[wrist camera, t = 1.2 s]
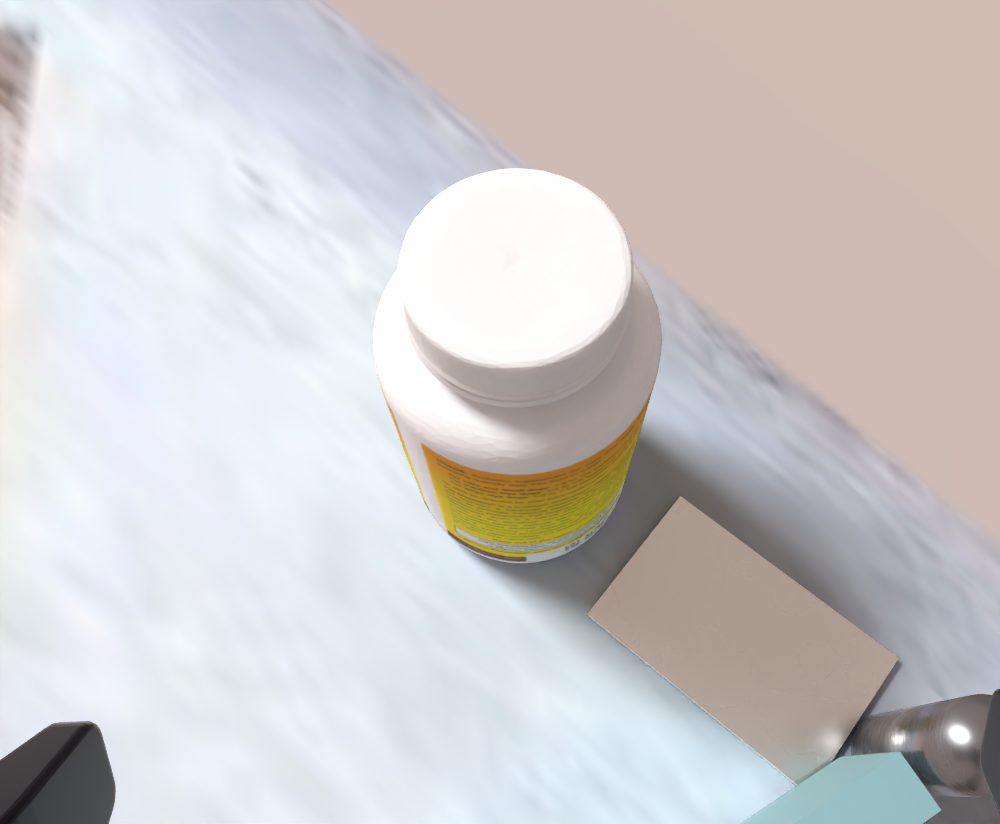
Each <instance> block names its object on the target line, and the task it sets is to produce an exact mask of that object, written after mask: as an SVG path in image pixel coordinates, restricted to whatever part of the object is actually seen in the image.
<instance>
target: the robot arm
mask: <svg viewBox="0 0 1000 824" xmlns="http://www.w3.org/2000/svg"><path fill="white" fill-rule="evenodd" d="M980 763H981V769H982V772H983V776H984V778H985V781H986V783H987V786H988V788H989V790H990V792H991V795H992V797H993V799H994V802H995V804H996V806H997V809H998V811H999V813H1000V689H998V690H996V691H995V692H994V694H993V695H992V697H991V700H990V704H989V709H988V714H987V719H986V724H985V729H984V733H983V738H982V743H981V748H980ZM115 792H116V790H115V781H114V777H113V773H112V769H111V766H110V762H109V758H108V755H107V751H106V748H105V744H104V740H103V737H102V733H101V731H100V729H99V727H98V726H97V725H96V724H95V723H93V722H90V721H80V722H59V723H54V724H52V725H50V726H48V727H47V728H45V729H43V730H42V731H41V732H39V733H38V734H36V735H35V736H34V737H32V738H31V739H29V740H28V741H27V742H25V743H24V744H22V745H21V746H19V747H18V748H17V749H15V750H14V751H12V752H11V753H10V754H8V755H7V756H5V757H4V758H3V759H1V760H0V824H109V821H110V818H111V814H112V811H113V807H114V802H115Z"/></svg>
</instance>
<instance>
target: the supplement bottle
mask: <svg viewBox="0 0 1000 824" xmlns="http://www.w3.org/2000/svg"><path fill="white" fill-rule="evenodd" d="M661 346H662V333H661V323H660V318H659V312H658V307H657V305H656V302H655V299H654V296H653V294H652V291H651V289H650V287H649V285H648V283H647V281H646V279H645V277H644V276H643V274H642V273H641V271H640V270H639V268H638V267H637V265H636V264H635V263H634V262H633V258H632V252H631V248H630V243H629V241H628V238H627V236H626V233H625V231H624V229H623V227H622V225H621V224H620V222H619V220H618V219H617V217H616V216H615V214H614V213H613V212H612V210H611V209H610V208H609V207H608V206H607V205H606V204H605V203H604V202H603V200H601V199H600V198H599V197H598V196H596V195H595V194H594V193H592V192H591V191H590V190H588V189H587V188H585V187H584V186H582V185H580V184H578V183H576V182H574V181H572V180H570V179H568V178H565V177H563V176H560V175H556V174H553V173H549V172H546V171H541V170H533V169H520V168H517V169H501V170H494V171H489V172H485V173H481V174H478V175H475V176H471V177H468V178H466V179H464V180H462V181H460V182H458V183H456V184H454V185H452V186H450V187H449V188H447V189H446V190H444V191H443V192H441V193H440V194H439V195H437V196H436V197H435V198H433V199H432V200H431V201H430V202H429V203H428V204H427V205H426V206H425V207H424V208H423V209H422V211H421V212H420V213H419V214H418V216H417V217H416V218H415V220H414V221H413V223H412V224H411V226H410V228H409V230H408V232H407V234H406V236H405V239H404V242H403V245H402V248H401V251H400V256H399V262H398V268H397V270H396V271H395V273H394V274H393V276H392V277H391V279H390V281H389V283H388V284H387V286H386V288H385V290H384V293H383V295H382V297H381V300H380V303H379V306H378V309H377V314H376V318H375V324H374V333H373V352H374V360H375V366H376V371H377V376H378V379H379V383H380V386H381V389H382V392H383V395H384V397H385V400H386V402H387V405H388V408H389V411H390V413H391V416H392V419H393V421H394V424H395V426H396V429H397V432H398V435H399V437H400V441H401V443H402V446H403V449H404V451H405V454H406V457H407V460H408V462H409V464H410V467H411V470H412V472H413V474H414V477H415V479H416V482H417V485H418V487H419V490H420V493H421V495H422V497H423V500H424V502H425V504H426V506H427V508H428V509H429V511H430V513H431V514H432V516H433V517H434V519H435V520H436V522H437V523H438V524H439V526H440V527H441V528H442V529H443V530H444V531H445V532H446V533H447V534H448V535H449V536H450V537H451V538H452V539H454V540H455V541H456V542H458V543H459V544H461V545H462V546H464V547H465V548H467V549H469V550H470V551H472V552H474V553H477V554H479V555H481V556H484V557H487V558H490V559H494V560H498V561H502V562H508V563H535V562H540V561H546V560H549V559H553V558H556V557H559V556H561V555H564V554H566V553H568V552H570V551H572V550H574V549H575V548H577V547H579V546H580V545H582V544H583V543H584V542H586V541H587V540H589V539H590V538H591V537H592V536H593V535H594V534H595V533H596V532H597V531H598V530H599V529H600V528H601V527H602V526H603V525H604V523H605V522H606V521H607V519H608V518H609V516H610V515H611V513H612V511H613V510H614V508H615V506H616V504H617V502H618V499H619V497H620V495H621V492H622V490H623V486H624V483H625V479H626V476H627V472H628V469H629V466H630V462H631V459H632V456H633V452H634V449H635V446H636V443H637V440H638V437H639V434H640V431H641V427H642V424H643V421H644V417H645V414H646V410H647V407H648V403H649V400H650V396H651V393H652V390H653V386H654V383H655V380H656V376H657V373H658V367H659V362H660V356H661Z"/></svg>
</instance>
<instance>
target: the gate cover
mask: <svg viewBox="0 0 1000 824" xmlns="http://www.w3.org/2000/svg"><path fill="white" fill-rule="evenodd" d="M940 811H941V809H940V807H939V806H938V804H937V803H936V802H935V800H934V799H933V797H932V796H931V795H930V793H929V792H928V790H927V789H926V787H925V786H924V785H923V783H922V782H921V780H920V779H919V778H918V776H917V775H916V773H915V772H914V771H913V769H912V768H911V766H910V765H909V764H908V762H907V761H906V759H905V758H904V757H903V755H902V754H901V752H890V753H878V754H867V755H855V756H844V757H839V758H838V759H836V760H835V761H833V762H832V763H830V764H829V765H827V766H826V767H824V768H823V769H821V770H820V771H818V772H817V773H815V774H814V775H812V776H811V777H809V778H808V779H806V780H805V781H803V782H802V783H800V784H799V785H797V786H796V787H794V788H793V789H791V790H790V791H788V792H787V793H785V794H784V795H783V796H781V797H780V798H778V799H777V800H775V801H774V802H772V803H771V804H769V805H768V806H766V807H765V808H763V809H762V810H760V811H759V812H757V813H756V814H754V815H753V816H751V817H750V818H748V819H747V820H745V821H744V822H742V823H741V824H923V823H924V822H926V821H927V820H929V819H930V818H931V817H933V816H934V815H936V814H937V813H939V812H940Z"/></svg>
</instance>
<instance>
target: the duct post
mask: <svg viewBox="0 0 1000 824" xmlns="http://www.w3.org/2000/svg"><path fill="white" fill-rule="evenodd" d="M587 616H588V617H590V618H591V619H592V620H593V621H595V622H596V623H597V624H598V625H599V626H601V627H602V628H603V629H604V630H606V631H607V632H608V633H609V634H611V635H612V636H613V637H614V638H615V639H617V640H618V641H619V642H620V643H622V644H623V645H624V646H625V647H627V648H628V649H629V650H630V651H631V652H633V653H634V654H635V655H636V656H638V657H639V658H640V659H641V660H643V661H644V662H645V663H646V664H647V665H649V666H650V667H651V668H652V669H654V670H655V671H656V672H657V673H658V674H660V675H661V676H662V677H663V678H665V679H666V680H667V681H668V682H670V683H671V684H672V685H673V686H674V687H676V688H677V689H678V690H679V691H681V692H682V693H683V694H684V695H686V696H687V697H688V698H689V699H690V700H692V701H693V702H694V703H695V704H697V705H698V706H699V707H700V708H702V709H703V710H704V711H705V712H706V713H708V714H709V715H710V716H711V717H713V718H714V719H715V720H716V721H717V722H719V723H720V724H721V725H722V726H724V727H725V728H726V729H727V730H729V731H730V732H731V733H732V734H733V735H735V736H736V737H737V738H738V739H740V740H741V741H742V742H743V743H745V744H746V745H747V746H748V747H749V748H751V749H752V750H753V751H754V752H756V753H757V754H758V755H759V756H760V757H762V758H763V759H764V760H765V761H767V762H768V763H769V764H770V765H772V766H773V767H774V768H775V769H776V770H778V771H779V772H780V773H781V774H783V775H784V776H785V777H786V778H788V779H789V780H790V781H791V782H792V783H794V784H795V785H796V786H797V785H799V784H800V783H802V782H803V781H805V780H806V779H808V778H809V777H811V776H812V775H814V774H815V773H817V772H818V771H820V770H821V769H823V768H824V767H826V766H827V765H829V764H830V763H831V762H832V760H833V759H834V757H835V756H836V754H837V752H838V751H839V749H840V748H841V746H842V745H843V743H844V742H845V740H846V739H847V737H848V736H849V734H850V733H851V731H852V729H853V728H854V726H855V725H856V723H857V722H858V720H859V719H860V717H861V716H862V714H863V713H864V711H865V710H866V708H867V706H868V705H869V703H870V702H871V700H872V699H873V697H874V696H875V694H876V693H877V691H878V690H879V688H880V686H881V685H882V683H883V682H884V680H885V679H886V677H887V676H888V674H889V673H890V671H891V670H892V668H893V667H894V665H895V663H896V662H897V660H898V659H899V657H897V656H896V655H895V654H893V653H892V652H890V651H889V650H888V649H886V648H885V647H884V646H882V645H881V644H880V643H878V642H877V641H876V640H874V639H873V638H872V637H870V636H869V635H868V634H866V633H865V632H863V631H862V630H861V629H859V628H858V627H857V626H855V625H854V624H853V623H851V622H850V621H849V620H847V619H846V618H845V617H843V616H842V615H841V614H839V613H838V612H836V611H835V610H834V609H832V608H831V607H830V606H828V605H827V604H826V603H824V602H823V601H822V600H820V599H819V598H818V597H816V596H815V595H814V594H812V593H811V592H809V591H808V590H807V589H805V588H804V587H803V586H801V585H800V584H799V583H797V582H796V581H795V580H793V579H792V578H791V577H789V576H788V575H787V574H785V573H784V572H782V571H781V570H780V569H778V568H777V567H776V566H774V565H773V564H772V563H770V562H769V561H768V560H766V559H765V558H764V557H762V556H761V555H760V554H758V553H757V552H755V551H754V550H753V549H751V548H750V547H749V546H747V545H746V544H745V543H743V542H742V541H741V540H739V539H738V538H737V537H735V536H734V535H733V534H731V533H730V532H728V531H727V530H726V529H724V528H723V527H722V526H720V525H719V524H718V523H716V522H715V521H714V520H712V519H711V518H710V517H708V516H707V515H706V514H704V513H703V512H701V511H700V510H699V509H697V508H696V507H695V506H693V505H692V504H691V503H689V502H688V501H687V500H685V499H684V498H683V497H681V496H680V497H679V498H678V499H677V501H676V502H675V503H674V504H673V506H672V507H671V508H670V510H669V511H668V512H667V513H666V515H665V516H664V517H663V518H662V520H661V521H660V522H659V523H658V525H657V526H656V527H655V529H654V530H653V531H652V532H651V534H650V535H649V536H648V537H647V539H646V540H645V541H644V542H643V544H642V545H641V546H640V548H639V549H638V550H637V551H636V553H635V554H634V555H633V556H632V558H631V559H630V560H629V561H628V563H627V564H626V565H625V567H624V568H623V569H622V570H621V572H620V573H619V574H618V575H617V577H616V578H615V579H614V580H613V582H612V583H611V584H610V586H609V587H608V588H607V589H606V591H605V592H604V593H603V594H602V596H601V597H600V598H599V599H598V601H597V602H596V603H595V605H594V606H593V607H592V608H591V610H590V611H589V612H588V613H587ZM991 697H992V695H986V694H976V695H970V696H965V697H961V698H956V699H951V700H946V701H941V702H936V703H931V704H926V705H921V706H916V707H911V708H906V709H901V710H896V711H891V712H886V713H881V714H876V715H873V716H870V717H868V718H866V719H865V720H863V721H862V722H861V723H860V724H859V725H858V727H857V728H856V730H855V732H854V734H853V737H852V741H851V754H852V756H855V755H867V754H878V753H890V752H901V754H902V755H903V757H904V758H905V759H906V761H907V762H908V764H909V765H910V766H911V768H912V769H913V771H914V772H915V773H916V775H917V776H918V778H919V779H920V780H921V782H922V783H923V785H924V786H925V787H926V789H927V790H928V792H929V793H930V795H931V796H941V797H974V798H993V797H992V795H991V792H990V790H989V788H988V786H987V783H986V781H985V778H984V776H983V772H982V769H981V763H980V748H981V743H982V738H983V733H984V729H985V724H986V719H987V714H988V709H989V704H990V700H991Z"/></svg>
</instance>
